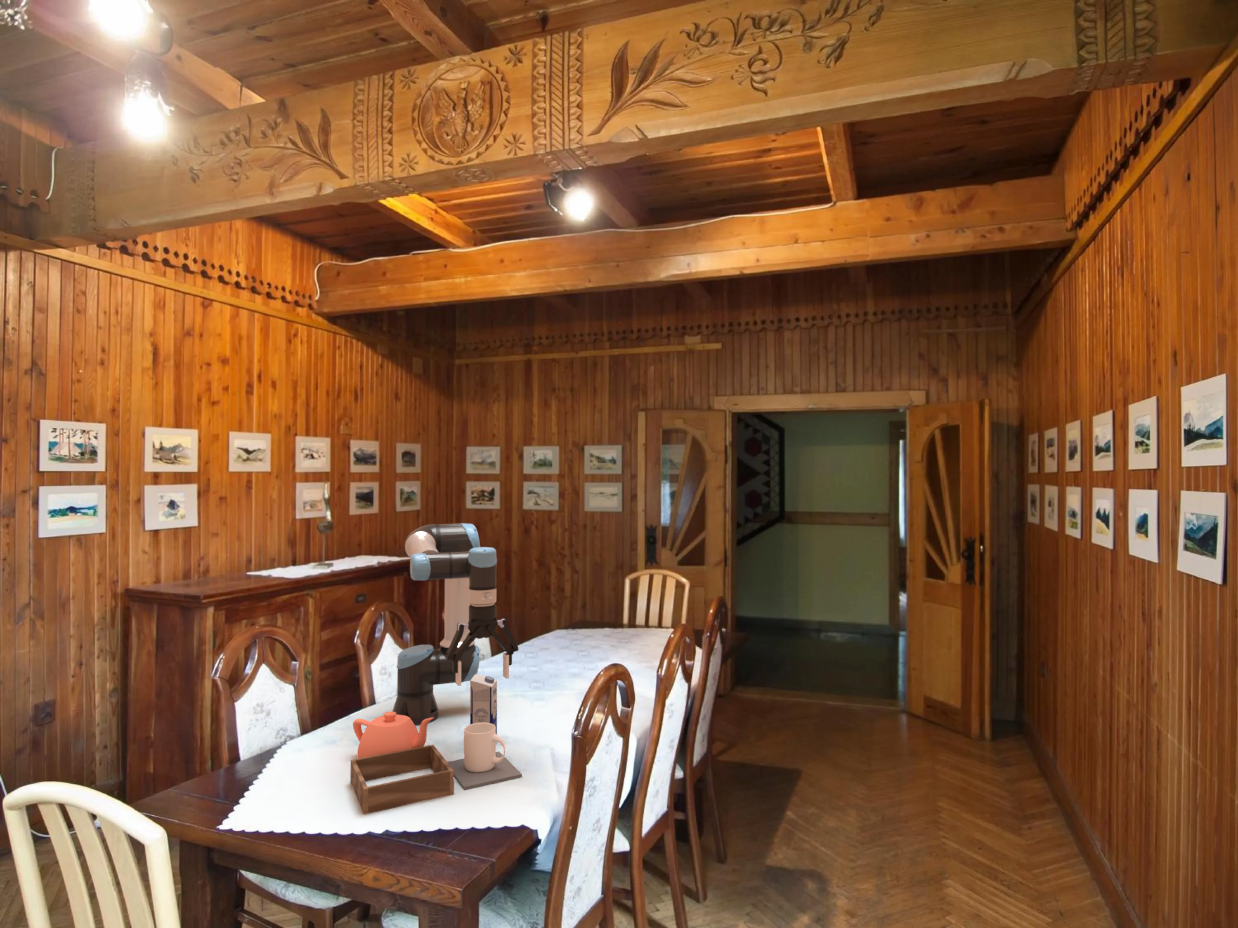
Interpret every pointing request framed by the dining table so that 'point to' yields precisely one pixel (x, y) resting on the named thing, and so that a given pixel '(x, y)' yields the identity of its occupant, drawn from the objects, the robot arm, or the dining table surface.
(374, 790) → the walnut caddy
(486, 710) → the milk carton
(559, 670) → the dining table surface
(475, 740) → the mug
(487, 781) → the slate trivet
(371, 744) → the teapot
